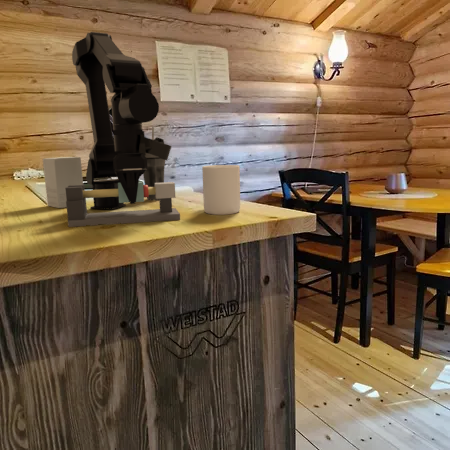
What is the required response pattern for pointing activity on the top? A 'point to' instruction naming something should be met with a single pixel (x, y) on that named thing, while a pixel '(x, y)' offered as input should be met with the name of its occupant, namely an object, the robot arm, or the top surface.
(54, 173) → the supplement box
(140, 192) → the sleeve
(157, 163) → the beverage cup
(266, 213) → the top surface
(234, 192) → the mug
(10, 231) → the top surface
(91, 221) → the grey peg fixture
